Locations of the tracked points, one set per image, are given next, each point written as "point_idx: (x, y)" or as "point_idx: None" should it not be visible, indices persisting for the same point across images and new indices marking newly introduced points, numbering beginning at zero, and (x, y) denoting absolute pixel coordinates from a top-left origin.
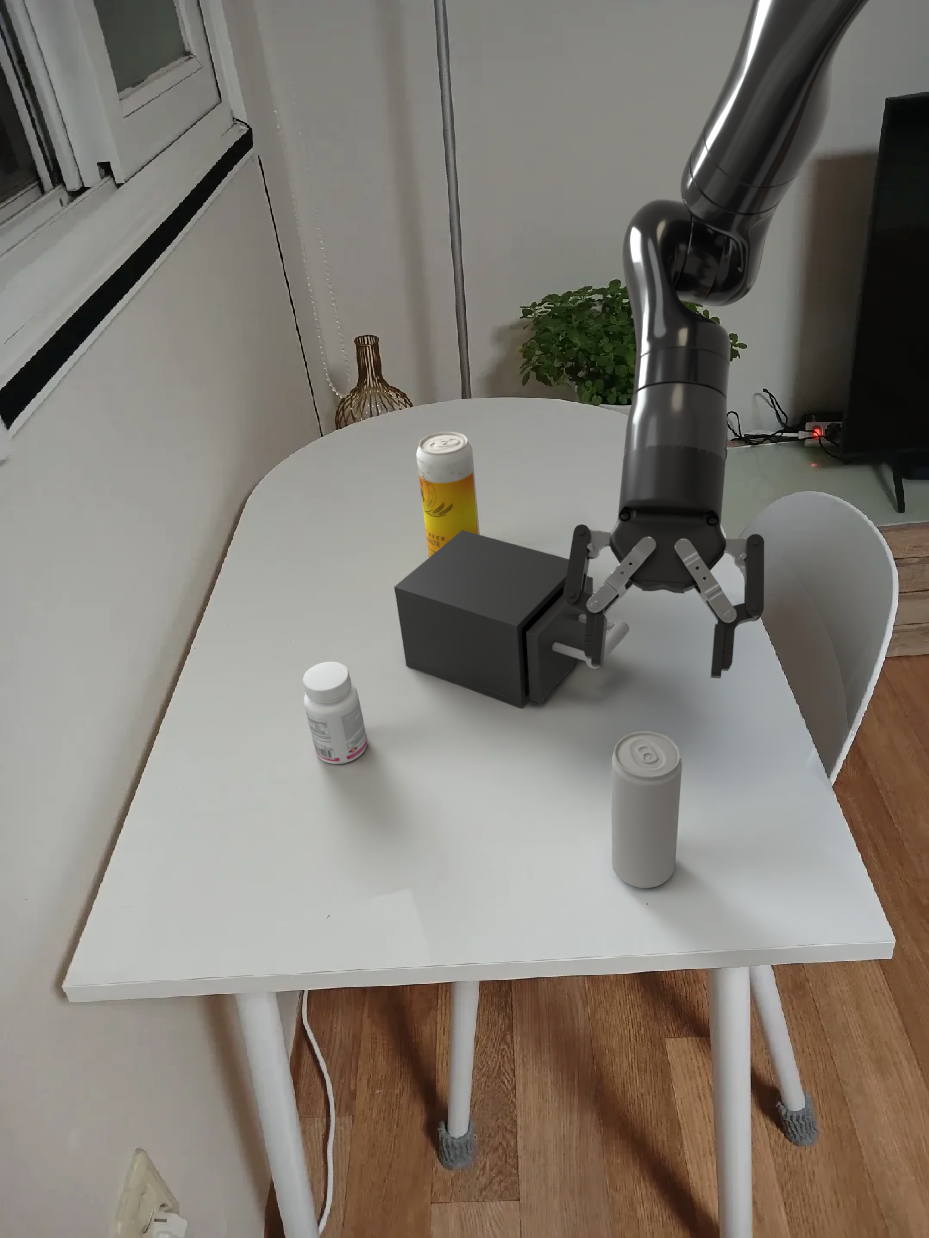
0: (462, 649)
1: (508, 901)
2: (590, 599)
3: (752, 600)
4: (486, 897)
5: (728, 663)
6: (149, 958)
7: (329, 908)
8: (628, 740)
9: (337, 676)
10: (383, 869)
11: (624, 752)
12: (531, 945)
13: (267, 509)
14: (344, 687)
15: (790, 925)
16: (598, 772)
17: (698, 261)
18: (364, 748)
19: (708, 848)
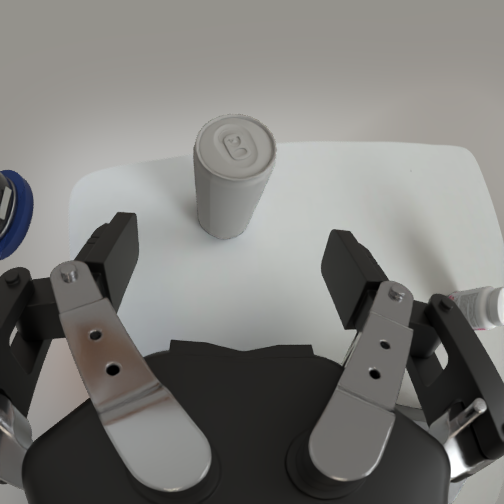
0: (419, 413)
1: (319, 179)
2: (410, 300)
3: (9, 291)
4: (334, 182)
5: (102, 228)
6: (458, 154)
7: (412, 175)
8: (260, 167)
9: (501, 306)
10: (400, 203)
11: (263, 147)
12: (296, 148)
13: (493, 499)
14: (493, 300)
15: (120, 177)
16: (270, 322)
17: None
18: None
19: (169, 240)
